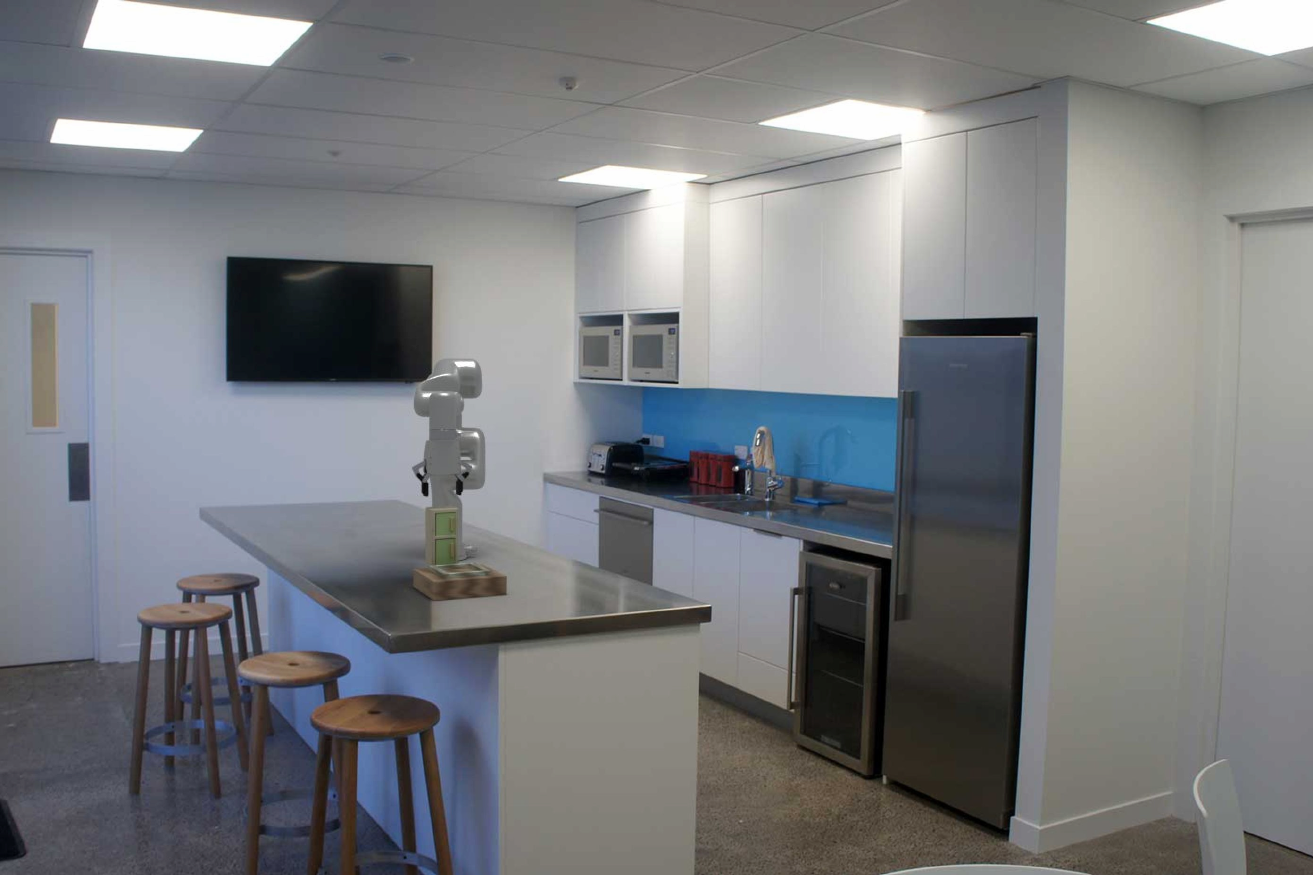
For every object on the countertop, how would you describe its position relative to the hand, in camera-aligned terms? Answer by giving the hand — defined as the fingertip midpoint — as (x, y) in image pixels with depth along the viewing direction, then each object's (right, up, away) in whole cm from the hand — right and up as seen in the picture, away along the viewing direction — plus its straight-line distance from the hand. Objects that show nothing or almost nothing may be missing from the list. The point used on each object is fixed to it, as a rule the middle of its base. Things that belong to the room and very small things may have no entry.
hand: (442, 495), depth 319 cm
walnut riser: (+7, -25, -12) cm, 29 cm away
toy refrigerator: (0, -25, +2) cm, 25 cm away
